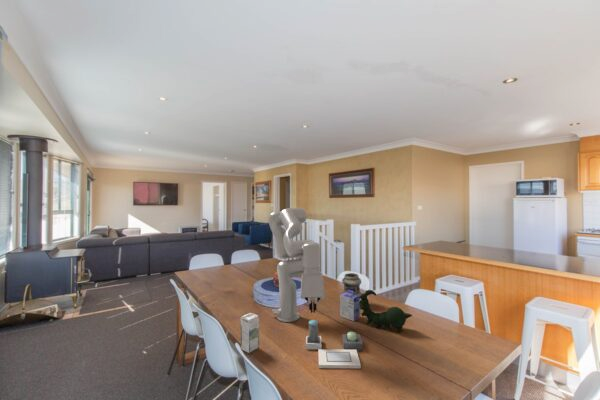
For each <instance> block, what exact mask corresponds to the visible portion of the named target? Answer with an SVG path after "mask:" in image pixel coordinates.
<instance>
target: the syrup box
mask: <svg viewBox="0 0 600 400" xmlns="http://www.w3.org/2000/svg"><path fill="white" fill-rule="evenodd" d="M259 317H260V316H259V315H257V314H255V313H252V312H249V313H247V314H244V315H242V316H240V350H242V351H244V352H245V353H248V354H250V353H252V352H254V351H255V350H257V349H259V348H260V347H259V346H260V337H259V335H260V327H259V326H260V323H259V322H260V321H259Z"/></svg>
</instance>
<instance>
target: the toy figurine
mask: <svg viewBox="0 0 600 400" xmlns="http://www.w3.org/2000/svg"><path fill="white" fill-rule="evenodd" d="M361 293H362V292H361ZM370 295H373V296H377V293H376V292H375V291H374V290H371V289H368V290H365V292H363V293H362V294H361V296H360V300H359V302H360V305H361V306H360V310H362V312H360V315H361V316H362V317H364V316H365V317H366V318H367V320H366V323H367V324H368V325H371V323H372V324H373V325H374V328H375V329H379V327H380V326H381V327H382V329H384V330H387V329H388V328H389V327H390V326H391V327H393V328H395V330H396V332H399V333H400V332H402V331H403V327H404V325H405V324H406V320H407V319H409V318H411V317H412V316H413V315H412V314H411V313H407V312H405V311H404V310H403V309H402V308H400V307H398V306H391V307H389V308H388V309H387V310H386V311H382V312H375V311H373V310H372V308H371V305H370V304H369V299H368V296H370Z"/></svg>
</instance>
